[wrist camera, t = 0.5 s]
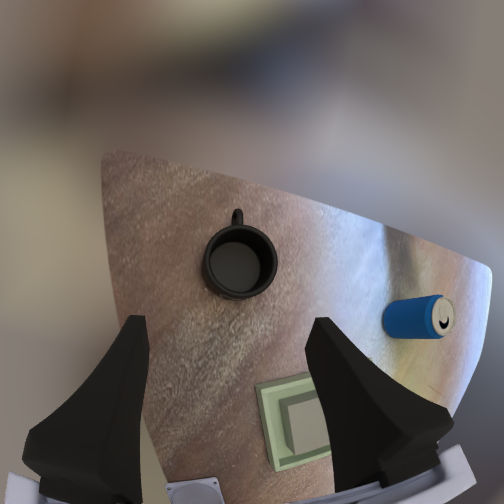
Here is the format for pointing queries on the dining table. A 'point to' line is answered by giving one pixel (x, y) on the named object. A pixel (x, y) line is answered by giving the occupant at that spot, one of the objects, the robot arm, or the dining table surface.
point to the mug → (239, 261)
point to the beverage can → (420, 318)
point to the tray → (273, 424)
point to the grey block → (303, 422)
